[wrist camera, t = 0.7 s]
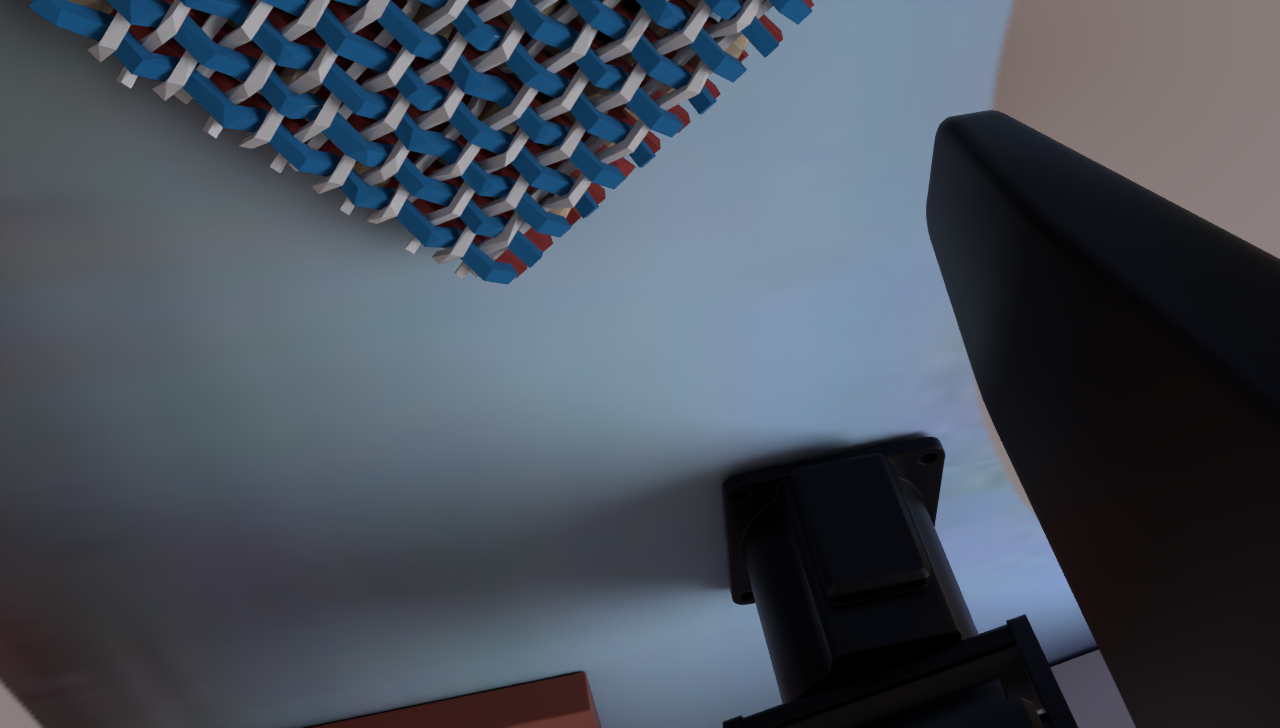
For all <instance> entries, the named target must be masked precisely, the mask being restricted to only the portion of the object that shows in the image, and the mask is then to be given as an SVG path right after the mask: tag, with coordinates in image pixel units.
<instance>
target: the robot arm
mask: <svg viewBox="0 0 1280 728" xmlns="http://www.w3.org/2000/svg"><path fill="white" fill-rule="evenodd" d="M926 218H927V227H928V232H929V236H930V239H931V243H932V246H933V249H934V252H935V255H936V258H937V261H938V264H939V267H940V270H941V274H942V277H943V280H944V283H945V286H946V289H947V292H948V295H949V298H950V301H951V305H952V308H953V311H954V314H955V317H956V320H957V323H958V326H959V329H960V332H961V336H962V339H963V342H964V345H965V348H966V351H967V354H968V357H969V360H970V363H971V367H972V370H973V373H974V376H975V378H976V381H977V384H978V387H979V390H980V393H981V395H982V398H983V401H984V403H985V405H986V408H987V410H988V412H989V415H990V417H991V419H992V422H993V424H994V426H995V428H996V430H997V433H998V435H999V437H1000V439H1001V441H1002V443H1003V445H1004V448H1005V450H1006V452H1007V454H1008V456H1009V458H1010V460H1011V463H1012V465H1013V467H1014V469H1015V471H1016V473H1017V475H1018V477H1019V479H1020V482H1021V484H1022V486H1023V488H1024V490H1025V492H1026V494H1027V497H1028V499H1029V501H1030V503H1031V505H1032V507H1033V509H1034V512H1035V514H1036V516H1037V518H1038V520H1039V522H1040V524H1041V526H1042V529H1043V531H1044V533H1045V535H1046V537H1047V539H1048V541H1049V544H1050V546H1051V548H1052V550H1053V552H1054V554H1055V556H1056V558H1057V561H1058V563H1059V565H1060V567H1061V569H1062V571H1063V573H1064V576H1065V578H1066V580H1067V582H1068V584H1069V586H1070V588H1071V590H1072V593H1073V595H1074V597H1075V599H1076V601H1077V603H1078V605H1079V607H1080V610H1081V612H1082V614H1083V616H1084V618H1085V620H1086V622H1087V625H1088V627H1089V629H1090V631H1091V633H1092V635H1093V637H1094V639H1095V642H1096V644H1097V646H1098V648H1099V650H1100V652H1101V654H1102V657H1103V659H1104V661H1105V663H1106V665H1107V667H1108V669H1109V671H1110V674H1111V676H1112V678H1113V680H1114V682H1115V684H1116V686H1117V688H1118V691H1119V693H1120V695H1121V697H1122V699H1123V701H1124V703H1125V706H1126V708H1127V710H1128V712H1129V714H1130V716H1131V718H1132V720H1133V723H1134V725H1135V727H1136V728H1280V259H1279V258H1277V257H1275V256H1273V255H1271V254H1269V253H1267V252H1265V251H1263V250H1262V249H1260V248H1258V247H1256V246H1254V245H1252V244H1250V243H1248V242H1246V241H1245V240H1243V239H1241V238H1239V237H1237V236H1235V235H1233V234H1231V233H1229V232H1228V231H1226V230H1224V229H1222V228H1220V227H1218V226H1216V225H1214V224H1212V223H1211V222H1208V221H1207V220H1205V219H1203V218H1201V217H1199V216H1197V215H1195V214H1193V213H1192V212H1190V211H1188V210H1186V209H1184V208H1182V207H1180V206H1178V205H1176V204H1175V203H1173V202H1171V201H1169V200H1167V199H1165V198H1163V197H1161V196H1159V195H1158V194H1156V193H1154V192H1152V191H1150V190H1148V189H1146V188H1144V187H1142V186H1140V185H1139V184H1136V183H1135V182H1133V181H1131V180H1129V179H1127V178H1125V177H1123V176H1122V175H1119V174H1118V173H1116V172H1114V171H1112V170H1110V169H1108V168H1106V167H1105V166H1103V165H1101V164H1099V163H1097V162H1095V161H1093V160H1091V159H1089V158H1087V157H1086V156H1083V155H1082V154H1080V153H1078V152H1076V151H1074V150H1072V149H1070V148H1068V147H1067V146H1065V145H1063V144H1061V143H1059V142H1057V141H1055V140H1053V139H1051V138H1050V137H1048V136H1046V135H1044V134H1042V133H1040V132H1038V131H1036V130H1034V129H1032V128H1030V127H1029V126H1027V125H1025V124H1023V123H1021V122H1019V121H1017V120H1015V119H1014V118H1011V117H1010V116H1008V115H1006V114H1004V113H1002V112H999V111H995V110H988V111H982V112H976V113H970V114H964V115H958V116H952V117H948V118H946V119H945V120H944V121H943V122H942V123H941V124H940V125H939V128H938V130H937V133H936V136H935V143H934V150H933V158H932V165H931V173H930V181H929V188H928V196H927V204H926ZM944 459H945V452H944V449H943V447H942V445H941V443H940V441H939V440H938V439H937V438H934V437H924V438H919V439H914V440H909V441H904V442H898V443H893V444H888V445H883V446H878V447H873V448H868V449H863V450H858V451H853V452H848V453H843V454H838V455H833V456H828V457H823V458H818V459H813V460H808V461H802V462H797V463H792V464H787V465H782V466H777V467H772V468H767V469H762V470H757V471H752V472H747V473H742V474H737V475H734V476H731V477H729V478H728V479H726V480H725V481H724V482H723V484H722V487H721V491H722V502H723V514H724V526H725V538H726V550H727V561H728V573H729V585H730V591H731V595H732V599H733V601H734V602H735V603H736V604H740V605H746V604H752V603H756V606H757V610H758V613H759V617H760V621H761V625H762V628H763V632H764V636H765V639H766V643H767V647H768V650H769V654H770V658H771V661H772V665H773V669H774V673H775V676H776V680H777V684H778V687H779V691H780V695H781V698H782V702H783V704H781V705H779V706H776V707H773V708H770V709H767V710H764V711H762V712H759V713H756V714H753V715H750V716H748V717H745V718H743V717H742V716H741V715H740V716H738V717H735V718H732V719H729V720H726V721H724V722H723V728H1078V725H1077V723H1076V721H1075V719H1074V717H1073V715H1072V713H1071V711H1070V708H1069V706H1068V704H1067V702H1066V700H1065V698H1064V696H1063V693H1062V691H1061V689H1060V687H1059V685H1058V683H1057V681H1056V679H1055V676H1054V674H1053V672H1052V670H1051V668H1050V666H1049V664H1048V661H1047V659H1046V657H1045V655H1044V653H1043V651H1042V649H1041V647H1040V644H1039V642H1038V640H1037V638H1036V636H1035V634H1034V632H1033V629H1032V627H1031V625H1030V623H1029V621H1028V619H1027V617H1026V615H1025V614H1024V615H1021V616H1019V617H1016V618H1013V619H1010V620H1007V621H1006V622H1007V625H1004V626H1001V627H998V628H995V629H993V630H990V631H987V632H984V633H981V634H978V632H977V629H976V627H975V625H974V622H973V620H972V617H971V615H970V612H969V610H968V608H967V605H966V603H965V600H964V598H963V596H962V593H961V591H960V588H959V586H958V583H957V581H956V579H955V576H954V574H953V571H952V569H951V567H950V564H949V562H948V559H947V557H946V554H945V552H944V550H943V547H942V545H941V542H940V540H939V538H938V535H937V533H936V530H935V528H934V526H935V519H936V513H937V506H938V499H939V493H940V486H941V479H942V473H943V466H944ZM1041 709H1042V710H1043V712H1044V713H1042V714H1039V715H1038V713H1037V711H1038V710H1041Z"/></svg>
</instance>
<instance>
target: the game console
mask: <svg viewBox="0 0 1280 728" xmlns="http://www.w3.org/2000/svg"><path fill="white" fill-rule="evenodd" d="M1050 668H1051V670H1052V672H1053V674H1054V676H1055V679H1056V681H1057V683H1058V685H1059V687H1060V689H1061V691H1062V693H1063V696H1064V698H1065V700H1066V702H1067V704H1068V706H1069V708H1070V711H1071V713H1072V715H1073V717H1074V719H1075V721H1076V723H1077V725H1078V728H1136V727H1135V725H1134V723H1133V720H1132V718H1131V716H1130V714H1129V712H1128V710H1127V708H1126V706H1125V703H1124V701H1123V699H1122V697H1121V695H1120V693H1119V691H1118V688H1117V686H1116V684H1115V682H1114V680H1113V678H1112V676H1111V674H1110V671H1109V669H1108V667H1107V665H1106V663H1105V661H1104V659H1103V657H1102V654H1101V652H1100V650H1096V651H1093V652H1091V653H1088V654H1085V655H1082V656H1080V657H1077V658H1074V659H1072V660H1069V661H1066V662H1063V663H1061V664H1058V665H1055V666H1053V667H1050ZM1037 713H1038V715H1039V714H1042V713H1044V712H1043V710H1042V709H1041V710H1038V711H1037Z"/></svg>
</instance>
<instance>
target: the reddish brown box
mask: <svg viewBox="0 0 1280 728" xmlns="http://www.w3.org/2000/svg"><path fill="white" fill-rule="evenodd" d="M311 728H601V725H600V722H599V718H598V715H597V711H596V708H595V704H594V701H593V697H592V694H591V690H590V687H589V683H588V680H587V677H586V673H585V672H581V673H576V674H571V675H567V676H562V677H557V678H552V679H547V680H542V681H537V682H532V683H527V684H522V685H517V686H512V687H508V688H503V689H498V690H493V691H488V692H483V693H478V694H473V695H468V696H463V697H458V698H453V699H449V700H444V701H439V702H434V703H429V704H424V705H419V706H414V707H409V708H404V709H399V710H394V711H390V712H385V713H380V714H375V715H370V716H365V717H360V718H355V719H350V720H345V721H340V722H335V723H330V724H326V725H321V726H316V727H311Z"/></svg>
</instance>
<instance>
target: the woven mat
mask: <svg viewBox="0 0 1280 728" xmlns="http://www.w3.org/2000/svg"><path fill="white" fill-rule="evenodd" d="M560 1H561V0H490V1H488V2H486V3H485V2H484V1H482V0H33V2H32V3H31V5H30V6H29V8H30V9H31V10H33V11H34V12H36V13H37V14H39V15H40V16H42V17H43V18H45V19H46V20H48V21H49V22H51V23H52V24H54V25H55V26H58V27H61V28H63V29H66V30H69V31H72V32H75V33H78V34H80V35H83V36H86V37H89V38H92V39H95V40H97V41H99V42H97V43H96V44H95V45H93V46H92V47H90V48H89V49H87V50H88V51H89V52H90V53H91V54H92V55H93V56H94V57H95V58H96V59H97V60H98V61H99V62H100V63H101V62H102V61H103V60H104V59H106V58H107V57H108V56H109V55H111V54H112V53H114V54H115V55H116V57H117V58H118V59H119V60H120V61H121V62H122V64H123V65H124V67H123V69H122V71H121V72H120V74H119V76H118V78H117V79H116V80H117V81H118V82H120V83H122V84H123V85H125V86H127V87H129V88H130V89H131V88H132V86H133V84H134V82H135V80H136V79H137V77H138V76H142V77H146V78H150V79H154V80H158V81H163V82H162V83H161V84H159V85H158V86H156V87H155V88H153V90H154V91H155V92H156V93H157V94H158V95H159V96H160V97H161V98H162V99H163V100H164V101H166V100H167V99H168V98H170V97H171V96H172V95H174V96H176V97H177V98H178V99H180V100H181V101H182V102H183V103H185V104H186V105H187V104H188V103H189V101H190V100H191V99H194V100H195V101H196V102H197V103H198V104H199V105H200V106H202V107H203V108H204V109H205V110H206V111H207V112H208V113H209V114H210V115H211V116H210V118H209V120H208V121H207V123H206V125H205V126H204V128H203V131H204V132H206V133H208V134H209V135H211V136H213V137H215V138H217V136H218V135H219V133H220V132H221V130H222V129H223V128H228V129H236V130H244V131H251V132H255V133H253V134H251V135H249V136H248V137H246V138H244V140H243V141H242V142H241V144H240V145H239V147H245V148H251V149H254V148H256V147H258V146H261V145H263V144H265V143H269V144H270V145H271V146H272V147H273V148H274V149H275V150H276V151H278V152H279V153H278V155H277V156H276V158H275V159H274V161H273V162H272V164H271V166H270V167H271V168H272V169H274V170H276V171H277V172H279V173H281V172H282V170H283V168H284V167H285V165H286V163H287V162H288V161H289V162H290V163H289V164H288V165H289V166H290V167H291V168H293V169H294V170H295V171H296V172H297V171H303V172H307V173H312V174H317V175H321V176H326V177H325V178H323V179H320V180H318V181H317V182H316V183H315V184H313V185H312V186H311V187H312V188H313V189H314V190H315V191H316V192H317V193H318V194H321V193H323V192H326V191H329V190H331V189H334V188H337V187H340V189H341V190H342V191H343V192H344V194H345V195H346V196H347V197H346V199H345V201H344V203H343V205H342V207H341V208H340V211H342V212H343V213H345V214H347V215H350V213H351V212H352V210H353V208H354V207H355V206H361V207H367V208H373V209H379V210H378V211H376V212H374V213H372V214H370V216H369V217H368V218H367V219H366V221H368V222H372V223H375V224H378V223H381V222H383V221H386V220H388V219H391V218H393V217H396V218H397V219H398V220H399V221H400V222H401V223H402V224H403V225H404V226H405V227H406V228H407V229H408V230H409V231H410V232H411V233H412V234H413V235H412V237H411V239H410V241H409V243H408V245H407V247H406V250H408V251H410V252H411V253H413V254H415V252H416V251H417V249H418V247H419V246H420V244H421V243H422V244H423V245H424V246H425V247H441V248H448V249H444V250H441V251H438V252H436V253H435V254H434V256H433V257H432V258H433V259H434V260H435V261H436V262H437V263H438V264H440V263H444V262H448V261H451V260H455V259H458V258H461V259H462V260H463V262H462V263H461V265H460V266H459V267H458V269H457V270H456V271H455V274H456V275H457V276H459V277H461V278H462V279H464V278H465V277H466V276H467V274H468V273H469V271H470V272H471V273H472V274H473V275H474V276H475V277H477V276H479V277H481V278H482V279H483V280H484V281H489V282H496V283H502V284H509V283H510V282H511V281H512V280H513V279H514V278H515V277H518V276H519V275H520V274H522V273H523V272H524V271H525V270H526V269H527V266H528V267H529V268H530V267H532V266H533V265H534V264H535V263H536V262H537V261H538V260H539V259H540V258H541V257H542V254H543V252H544V251H545V250H546V249H547V248H548V247H550V246H551V245H552V244H553V242H552V239H551V236H556V237H561V236H562V235H563V234H564V233H566V232H567V231H568V230H569V229H570V228H571V226H572V225H573V224H574V223H575V222H576V221H577V220H578V219H579V218H581V216H582V217H583V218H585V217H588V216H589V215H590V214H591V213H592V212H593V211H594V210H596V209H597V208H598V207H599V206H598V204H599V203H600V202H602V201H603V200H604V199H605V190H604V188H602V187H601V186H600V185H602V186H605V187H608V188H612V189H615V188H616V187H617V186H618V185H619V184H620V183H621V182H622V181H624V180H625V179H626V177H627V176H628V175H629V174H630V173H631V172H632V170H633V169H634V168H635V166H634V165H633V164H631V163H630V162H628V161H627V160H626V159H624V158H623V157H624V156H626V155H628V154H629V155H630V156H631V157H632V159H633V160H634V161H635V163H636V164H637V165H638V166H639V168H640V167H644V166H645V165H646V164H647V163H648V162H649V161H650V160H651V159H653V158H654V157H655V156H656V155H655V153H656V152H657V151H658V150H659V149H660V139H659V138H657V137H656V136H655V135H654V134H653V133H652V132H650V131H649V130H650V129H651V130H654V131H656V132H659V133H661V134H664V135H667V136H669V137H673V136H674V135H675V134H676V133H677V132H678V133H679V132H680V131H681V130H682V129H683V128H684V127H685V126H687V125H688V124H689V123H690V119H689V115H688V112H687V111H685V110H684V109H683V108H682V107H680V106H679V105H678V104H680V103H682V102H684V101H686V100H689V101H690V103H691V104H692V105H693V107H694V108H695V109H696V110H697V112H698V113H699V114H703V113H704V112H705V111H706V110H707V109H708V108H710V107H711V106H712V105H713V104H714V103H715V102H716V100H715V99H716V98H717V97H718V96H719V95H720V92H719V91H718V89H717V87H716V85H714V84H713V83H712V82H711V81H710V80H709V79H707V78H708V76H709V74H711V73H716V74H718V75H719V76H721V77H723V78H725V79H727V80H729V81H731V82H734V81H735V80H736V79H738V78H739V77H740V76H741V75H742V74H743V73H744V72H745V71H746V70H747V69H746V68H745V67H744V66H743V65H742V63H741V62H742V61H743V60H744V59H745V58H746V57H747V56H748V54H747V53H746V51H745V50H744V48H745V46H746V45H747V43H748V41H750V42H751V43H752V44H753V45H754V46H755V48H756V49H757V50H758V51H759V52H760V53H761V54H762V55H763V56H764V57H767V56H768V55H769V54H770V53H771V52H772V51H773V50H774V49H775V48H776V47H778V46H779V42H781V41H782V40H783V37H782V33H781V30H780V29H779V28H778V27H777V26H776V25H775V24H774V23H773V22H772V21H770V20H769V19H768V18H767V17H766V16H765V15H764V13H766V12H767V11H768V10H769V9H770V8H771V7H772V6H774V7H775V8H776V9H777V10H778V11H779V12H780V13H781V14H783V15H784V16H786V17H787V18H789V19H790V20H792V21H793V22H795V23H796V24H799V23H800V22H801V21H802V20H803V19H804V18H806V17H807V16H808V15H809V14H810V13H811V12H812V10H811V9H810V8H811V7H812V6H814V4H813V2H812V1H811V0H636V1H637V2H638V3H639V4H640V5H641V6H642V7H641V8H640V9H639V10H637V11H636V12H635V13H634V14H632V13H631V12H630V11H629V10H627V9H626V8H625V7H624V6H623V5H622V4H621V3H622V2H623V1H624V0H567V1H568V2H567V3H566V4H565V5H563V4H562V3H561V2H560ZM697 4H698V5H697ZM696 5H697V7H696V8H694V7H695V6H696ZM712 11H714V12H715V13H716V14H718V15H719V16H720V17H722V18H721V19H720V21H719V22H717V21H716V20H715V19H713V18H711V17H709V15H710V13H711V12H712ZM286 12H288V13H290V14H293V15H295V16H297V17H299V18H297V19H295V18H293V17H292V16H291V15H289V14H288V13H286ZM228 19H229V21H228V22H227V20H228ZM375 20H377V21H378V22H379V23H380V24H381V25H382V26H383V27H384V29H381V28H380V27H378V26H377V25H375V24H374V23H373V21H375ZM226 22H227V23H226ZM598 30H599V31H601V32H603V33H605V34H606V35H608V36H610V37H612V38H611V40H610V41H609V42H608V43H607V44H606V45H605V44H604V43H603V42H601V41H600V40H599V39H598V38H597V37H595V35H596V33H597V31H598ZM670 30H673V31H676V33H673V34H671V35H669V36H666V37H664V38H662V37H663V36H665V35H666V34H667V33H668V32H669V31H670ZM524 32H527V33H528V34H529V35H530V36H531V37H532V38H533V39H531V38H530V37H529V36H527V35H526V34H525V33H524ZM661 38H662V39H661ZM424 58H426V59H429V60H432V61H435V62H433V63H429V62H428V61H426V60H425V59H424ZM573 62H575V63H576V65H577V66H575V65H572V64H571V63H573ZM636 62H637V64H636V65H635V67H634V68H633V66H634V64H635V63H636ZM233 77H235V78H238V79H240V80H243V81H245V82H243V83H240V82H239V81H238V80H236V79H235V78H233ZM393 86H396V87H397V89H396V88H395V87H393ZM538 91H540V92H542V93H545V94H547V95H549V96H551V97H553V98H551V99H550V100H548V101H546V100H545V99H543V98H542V97H541V96H539V95H538V94H537V93H538ZM303 118H306V119H303ZM375 119H377V120H379V121H376V120H375ZM447 120H448V121H449V122H450V123H449V124H447V123H445V121H447ZM549 145H552V146H556V147H554V148H551V149H550V148H549V147H548V146H549ZM488 150H490V151H492V152H490V151H488ZM383 186H384V187H383ZM494 197H499V199H495V198H494Z"/></svg>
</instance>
